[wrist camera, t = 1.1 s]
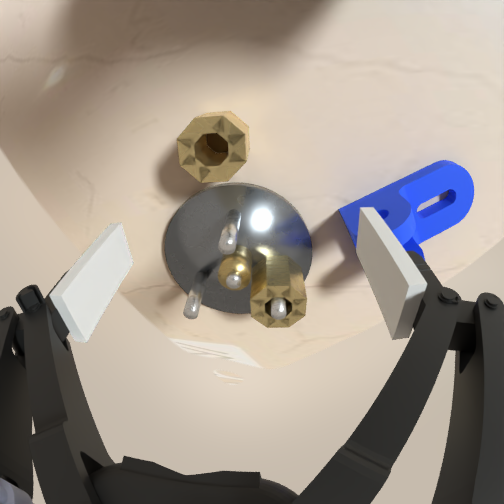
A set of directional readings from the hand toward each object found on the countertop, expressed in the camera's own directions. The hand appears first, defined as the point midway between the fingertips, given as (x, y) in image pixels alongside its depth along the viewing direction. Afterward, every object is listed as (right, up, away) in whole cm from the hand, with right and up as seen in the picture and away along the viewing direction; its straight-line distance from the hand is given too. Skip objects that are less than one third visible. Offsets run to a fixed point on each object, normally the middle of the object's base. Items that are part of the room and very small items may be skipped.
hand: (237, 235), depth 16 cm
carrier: (-1, -1, +21) cm, 21 cm away
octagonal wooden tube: (-3, +11, +14) cm, 18 cm away
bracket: (+21, +5, +17) cm, 27 cm away
